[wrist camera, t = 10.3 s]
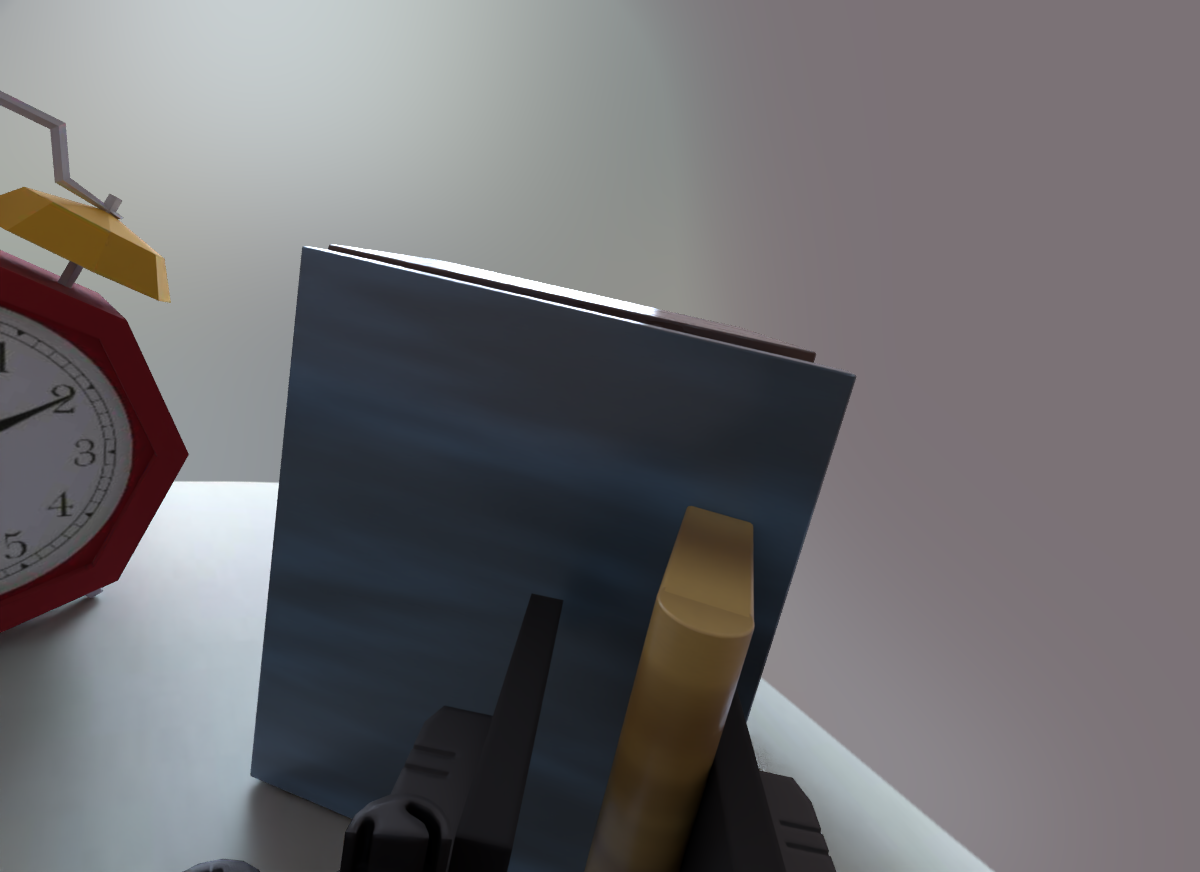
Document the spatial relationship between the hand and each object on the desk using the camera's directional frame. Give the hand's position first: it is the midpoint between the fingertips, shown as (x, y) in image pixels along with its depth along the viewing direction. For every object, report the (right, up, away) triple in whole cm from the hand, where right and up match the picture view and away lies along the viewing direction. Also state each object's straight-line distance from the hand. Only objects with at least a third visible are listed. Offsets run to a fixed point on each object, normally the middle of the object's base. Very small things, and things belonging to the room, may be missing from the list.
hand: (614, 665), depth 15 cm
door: (-5, -8, +2) cm, 10 cm away
